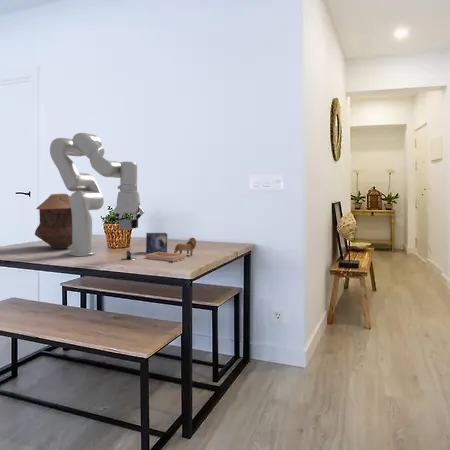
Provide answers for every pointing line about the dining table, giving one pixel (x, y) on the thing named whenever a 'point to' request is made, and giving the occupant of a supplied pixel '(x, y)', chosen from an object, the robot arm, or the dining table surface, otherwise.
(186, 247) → the lion figurine
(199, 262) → the dining table surface
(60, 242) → the pottery vessel
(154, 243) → the small box
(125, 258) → the dark knobbed lid
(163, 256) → the tray
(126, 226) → the frame
